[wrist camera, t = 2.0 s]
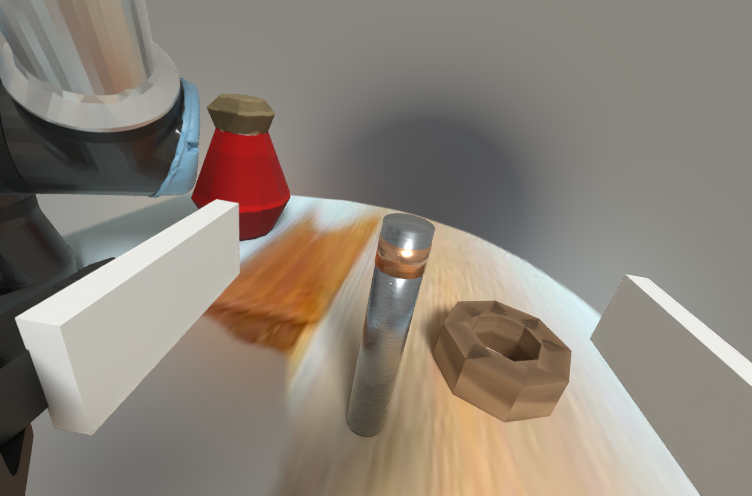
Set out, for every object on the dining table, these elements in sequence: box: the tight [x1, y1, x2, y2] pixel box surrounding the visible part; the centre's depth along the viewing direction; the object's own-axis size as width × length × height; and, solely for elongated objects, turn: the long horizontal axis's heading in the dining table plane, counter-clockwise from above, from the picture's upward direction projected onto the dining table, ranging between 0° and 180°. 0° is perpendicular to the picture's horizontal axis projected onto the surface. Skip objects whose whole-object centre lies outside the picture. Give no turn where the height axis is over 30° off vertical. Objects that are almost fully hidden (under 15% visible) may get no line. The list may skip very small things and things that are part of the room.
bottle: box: [191, 94, 290, 241], centre depth 53 cm, size 16×14×20 cm
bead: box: [433, 301, 571, 422], centre depth 36 cm, size 12×12×4 cm
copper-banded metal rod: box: [347, 213, 435, 437], centre depth 25 cm, size 3×3×18 cm
